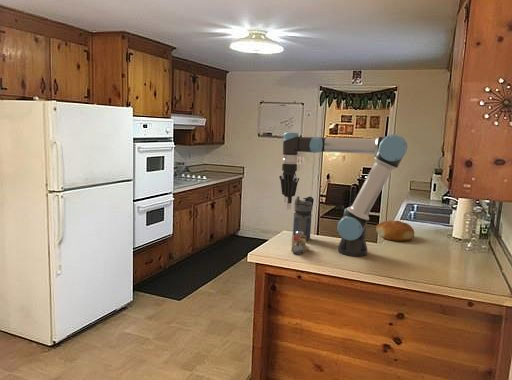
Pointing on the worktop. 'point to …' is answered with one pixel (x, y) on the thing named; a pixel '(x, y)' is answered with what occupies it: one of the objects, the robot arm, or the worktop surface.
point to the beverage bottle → (303, 216)
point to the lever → (298, 235)
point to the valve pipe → (298, 245)
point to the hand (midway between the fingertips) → (287, 209)
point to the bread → (395, 230)
